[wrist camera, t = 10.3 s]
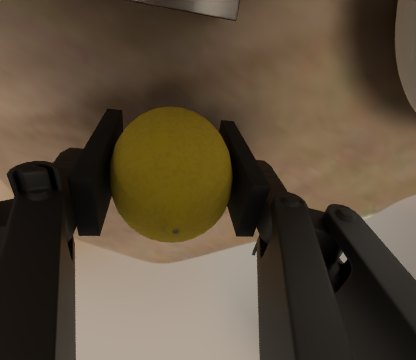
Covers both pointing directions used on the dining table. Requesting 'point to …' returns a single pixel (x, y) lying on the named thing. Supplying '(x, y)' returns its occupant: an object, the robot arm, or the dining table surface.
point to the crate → (199, 7)
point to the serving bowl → (406, 47)
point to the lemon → (170, 174)
